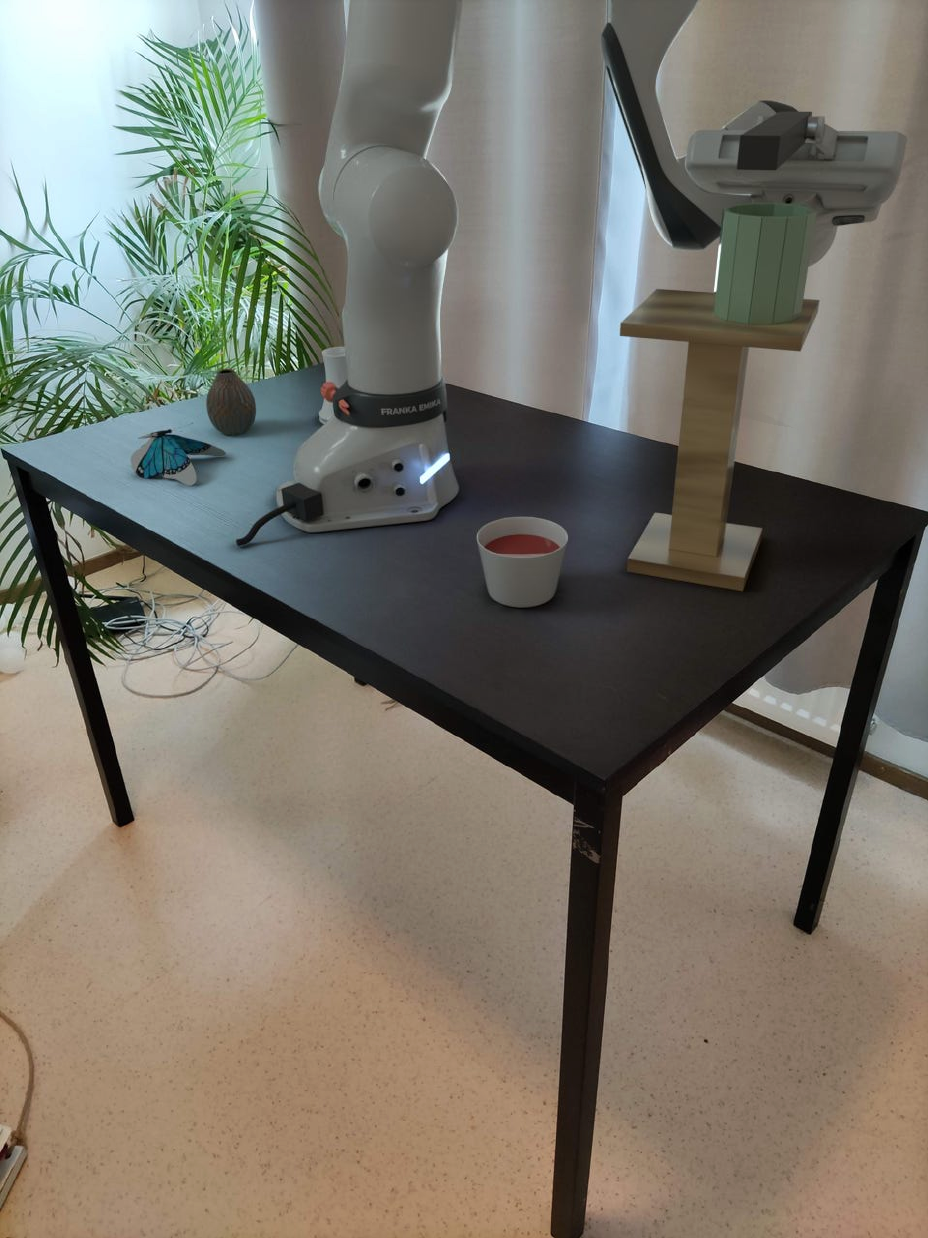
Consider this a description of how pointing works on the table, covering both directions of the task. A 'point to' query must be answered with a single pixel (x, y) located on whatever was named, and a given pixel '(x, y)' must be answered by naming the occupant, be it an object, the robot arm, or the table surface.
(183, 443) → the decorative butterfly
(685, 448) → the birch stand
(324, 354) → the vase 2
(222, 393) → the vase
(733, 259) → the green cup
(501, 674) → the table surface
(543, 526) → the white sauce bowl
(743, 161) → the black bar
